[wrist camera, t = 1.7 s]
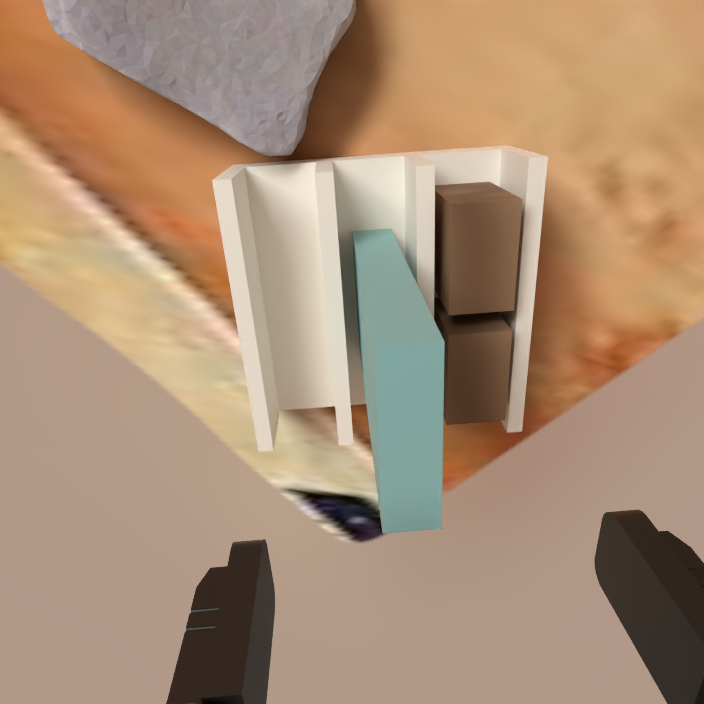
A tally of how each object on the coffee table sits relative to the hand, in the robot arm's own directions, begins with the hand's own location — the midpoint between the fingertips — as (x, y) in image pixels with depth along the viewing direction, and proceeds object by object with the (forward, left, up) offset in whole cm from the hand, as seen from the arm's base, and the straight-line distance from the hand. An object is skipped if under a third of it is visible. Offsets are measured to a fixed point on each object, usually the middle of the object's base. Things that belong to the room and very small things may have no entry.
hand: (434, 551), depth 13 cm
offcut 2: (-5, +3, -18) cm, 19 cm away
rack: (0, 0, -20) cm, 20 cm away
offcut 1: (-5, -3, -18) cm, 19 cm away
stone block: (+6, -14, -20) cm, 26 cm away
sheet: (0, 0, -18) cm, 18 cm away
